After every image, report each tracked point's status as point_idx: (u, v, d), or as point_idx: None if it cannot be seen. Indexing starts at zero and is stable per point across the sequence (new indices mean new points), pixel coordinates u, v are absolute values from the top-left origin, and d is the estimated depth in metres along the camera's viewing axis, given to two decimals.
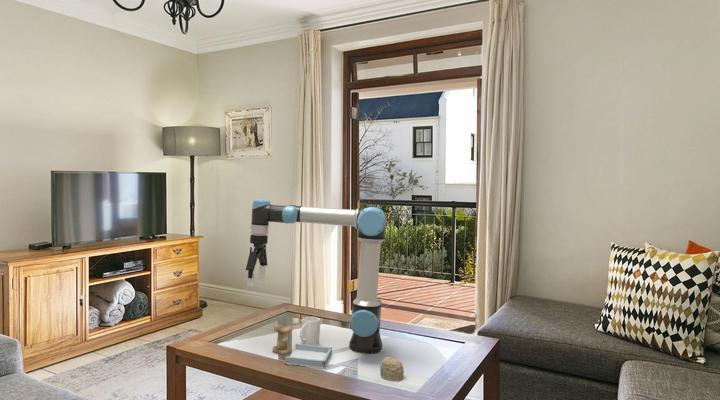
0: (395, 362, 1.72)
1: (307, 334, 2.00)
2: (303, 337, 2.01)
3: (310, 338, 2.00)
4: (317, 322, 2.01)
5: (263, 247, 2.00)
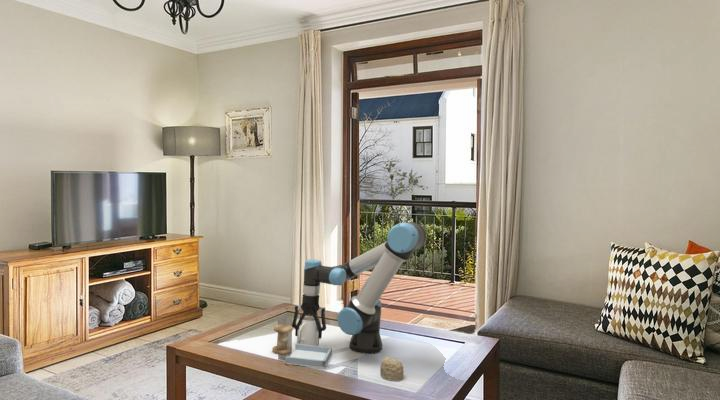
0: (395, 362, 1.72)
1: (306, 334, 2.00)
2: (302, 337, 2.01)
3: (309, 338, 2.00)
4: None
5: (317, 308, 2.01)
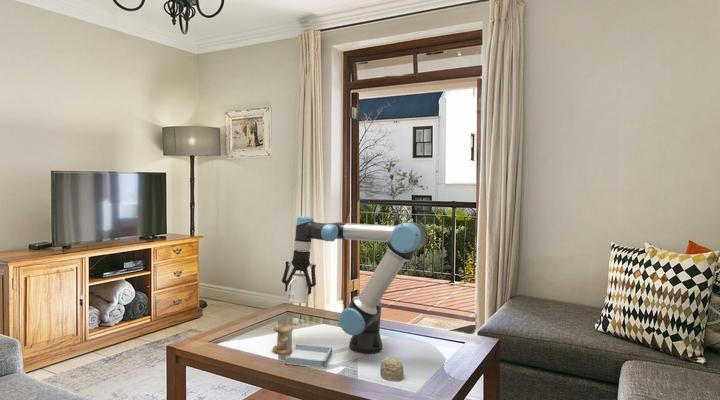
0: (395, 362, 1.72)
1: (295, 289, 2.01)
2: (291, 292, 2.02)
3: (299, 293, 2.01)
4: None
5: (307, 264, 2.02)
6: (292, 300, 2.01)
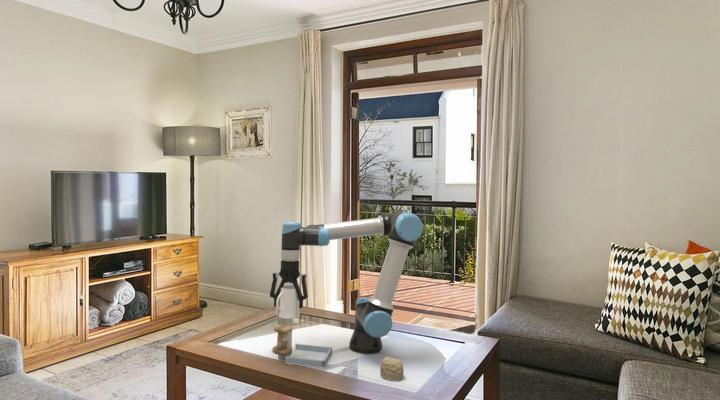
0: (395, 362, 1.72)
1: (285, 303, 1.81)
2: (281, 307, 1.82)
3: (289, 308, 1.81)
4: None
5: (297, 275, 1.82)
6: (282, 316, 1.81)
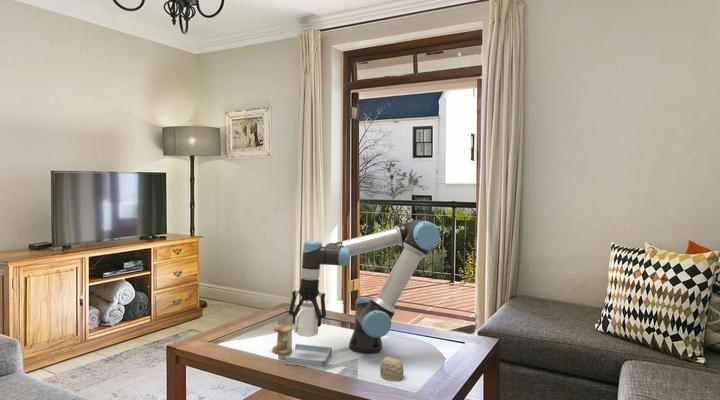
0: (395, 362, 1.72)
1: (304, 321, 1.84)
2: (299, 324, 1.85)
3: (307, 326, 1.83)
4: None
5: (316, 294, 1.84)
6: (300, 333, 1.84)
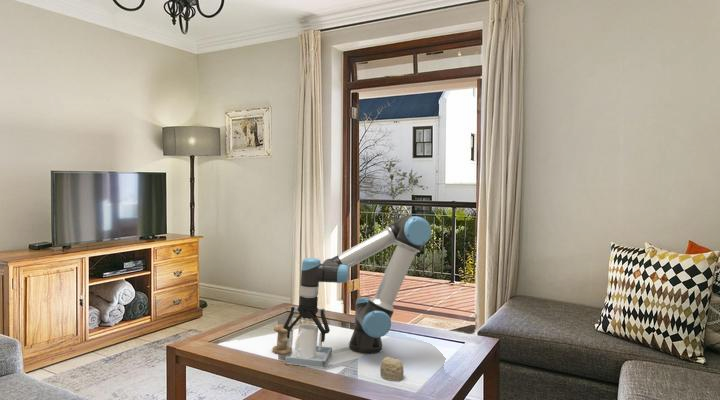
0: (395, 362, 1.72)
1: (303, 343, 1.84)
2: (299, 347, 1.85)
3: (307, 348, 1.84)
4: (314, 331, 1.85)
5: (315, 311, 1.84)
6: (300, 355, 1.84)
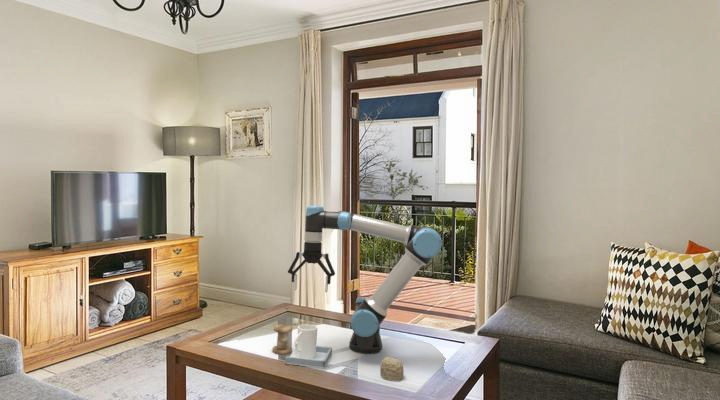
0: (395, 362, 1.72)
1: (303, 344, 1.84)
2: (298, 347, 1.85)
3: (306, 349, 1.83)
4: (314, 331, 1.85)
5: (320, 256, 1.92)
6: (299, 356, 1.84)
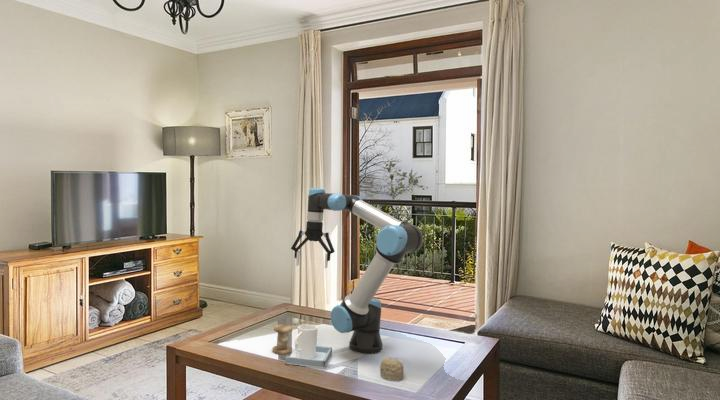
0: (395, 362, 1.72)
1: (303, 344, 1.84)
2: (298, 347, 1.85)
3: (306, 349, 1.83)
4: (314, 331, 1.85)
5: (321, 234, 2.08)
6: (299, 356, 1.84)
